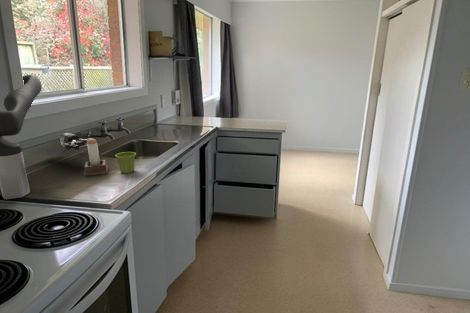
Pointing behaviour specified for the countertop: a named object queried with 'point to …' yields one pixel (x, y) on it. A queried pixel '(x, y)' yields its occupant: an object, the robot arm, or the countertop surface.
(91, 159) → the capped white tube
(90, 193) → the countertop surface
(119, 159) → the plant pot
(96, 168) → the box
